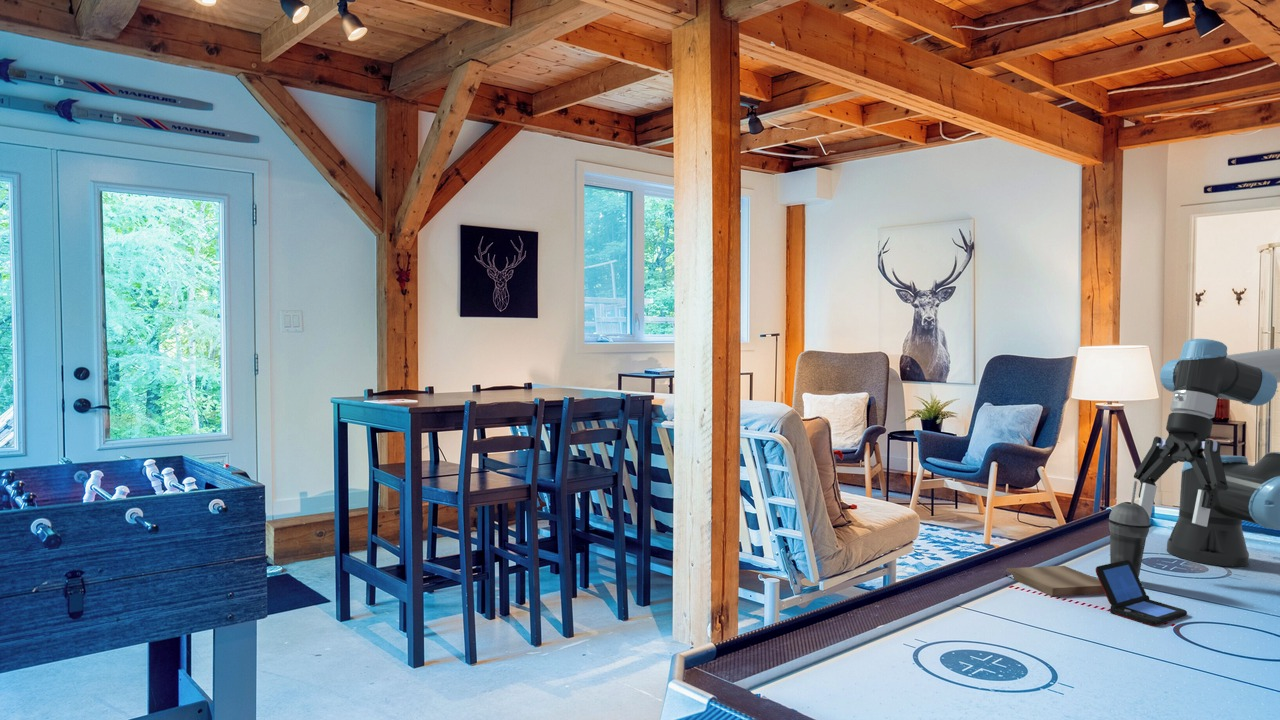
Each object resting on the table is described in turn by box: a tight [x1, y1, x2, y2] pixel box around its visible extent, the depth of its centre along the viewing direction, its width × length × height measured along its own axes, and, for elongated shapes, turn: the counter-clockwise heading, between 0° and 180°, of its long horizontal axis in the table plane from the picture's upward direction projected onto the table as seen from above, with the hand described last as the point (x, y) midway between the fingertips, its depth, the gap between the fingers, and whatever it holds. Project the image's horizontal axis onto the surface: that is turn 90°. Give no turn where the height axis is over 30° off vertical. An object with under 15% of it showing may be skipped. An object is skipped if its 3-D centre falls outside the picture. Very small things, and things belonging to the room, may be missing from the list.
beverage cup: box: [1107, 480, 1152, 577], centre depth 165 cm, size 7×7×20 cm
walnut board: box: [1005, 565, 1105, 597], centre depth 161 cm, size 14×12×2 cm
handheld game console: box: [1095, 560, 1188, 627], centre depth 147 cm, size 12×11×7 cm
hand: (1170, 520), depth 166 cm, fingers open, 13 cm apart
